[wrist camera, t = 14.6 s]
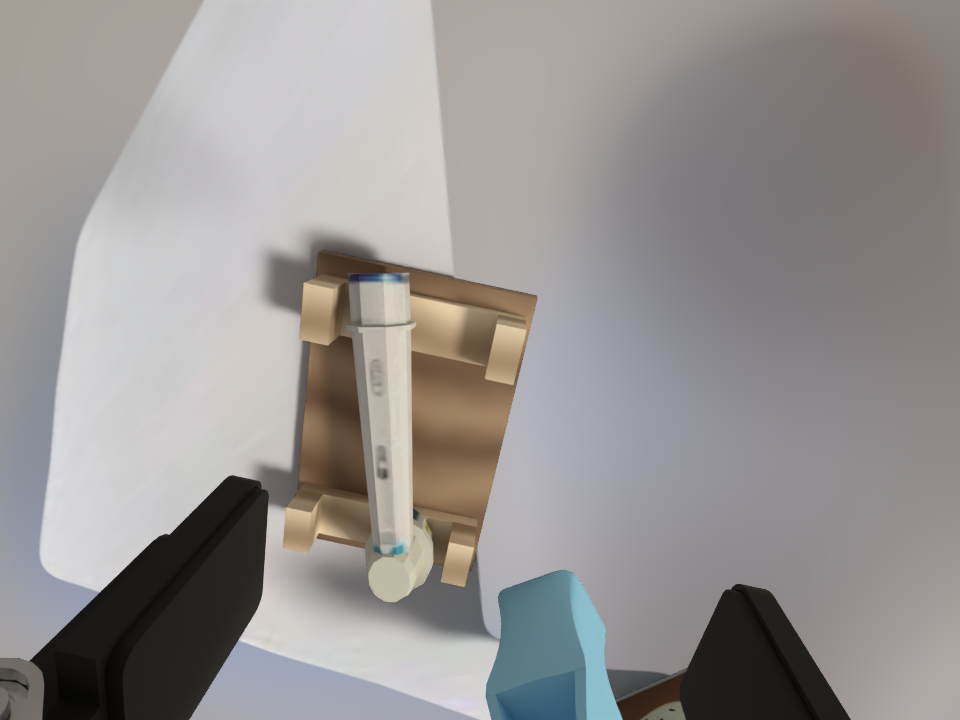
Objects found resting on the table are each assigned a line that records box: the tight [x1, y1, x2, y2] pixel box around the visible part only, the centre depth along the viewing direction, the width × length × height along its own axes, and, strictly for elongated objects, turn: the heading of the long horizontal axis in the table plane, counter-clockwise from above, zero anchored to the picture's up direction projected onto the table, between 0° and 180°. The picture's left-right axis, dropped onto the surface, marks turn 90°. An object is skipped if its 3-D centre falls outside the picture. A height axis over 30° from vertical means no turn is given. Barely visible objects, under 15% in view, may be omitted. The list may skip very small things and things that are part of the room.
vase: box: [486, 570, 623, 720], centre depth 37 cm, size 8×8×20 cm
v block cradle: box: [283, 250, 537, 587], centre depth 39 cm, size 25×16×4 cm, turn 169°
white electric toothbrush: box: [345, 272, 434, 602], centre depth 37 cm, size 5×7×25 cm
